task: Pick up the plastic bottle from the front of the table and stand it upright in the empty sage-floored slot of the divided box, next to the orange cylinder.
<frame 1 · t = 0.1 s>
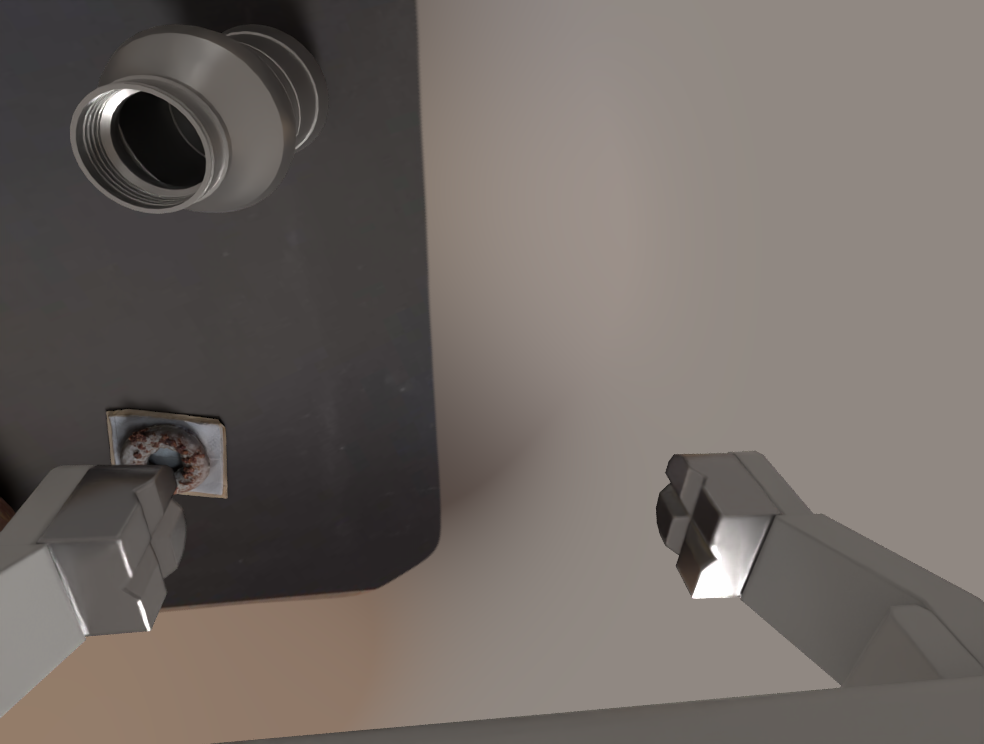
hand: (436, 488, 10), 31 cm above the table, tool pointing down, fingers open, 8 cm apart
donut: (170, 455, 45), on the table
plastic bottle: (274, 89, 34), on the table
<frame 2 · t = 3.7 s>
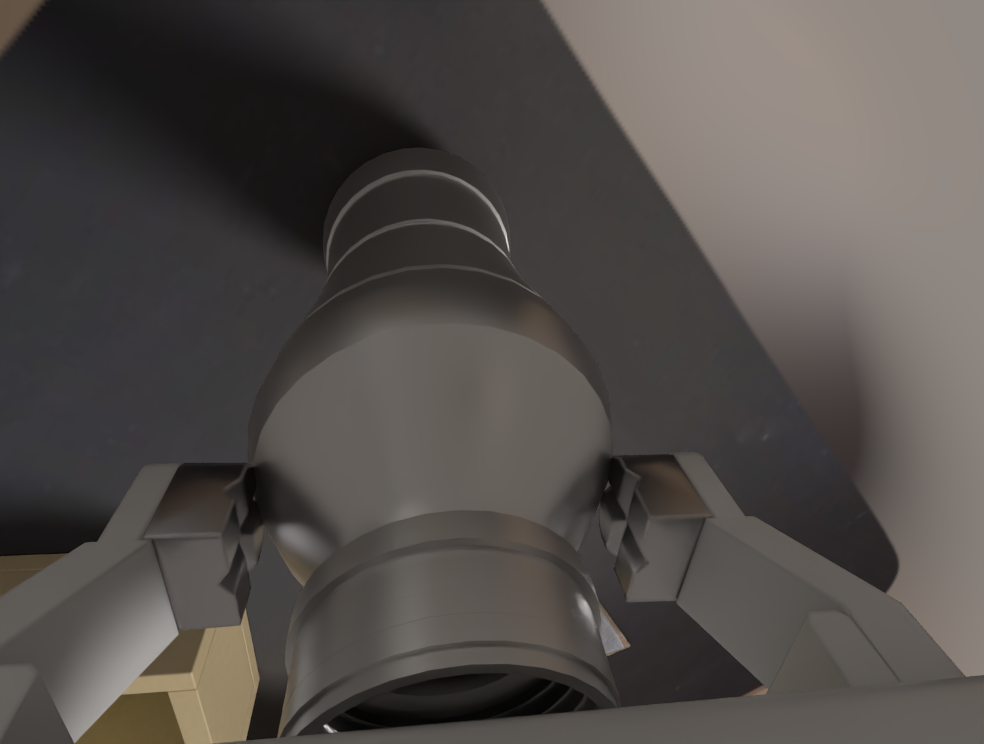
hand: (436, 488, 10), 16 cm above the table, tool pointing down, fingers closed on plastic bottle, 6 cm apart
donut: (550, 638, 38), on the table
divided box: (37, 630, 32), on the table
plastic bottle: (416, 221, 23), on the table, touching gripper
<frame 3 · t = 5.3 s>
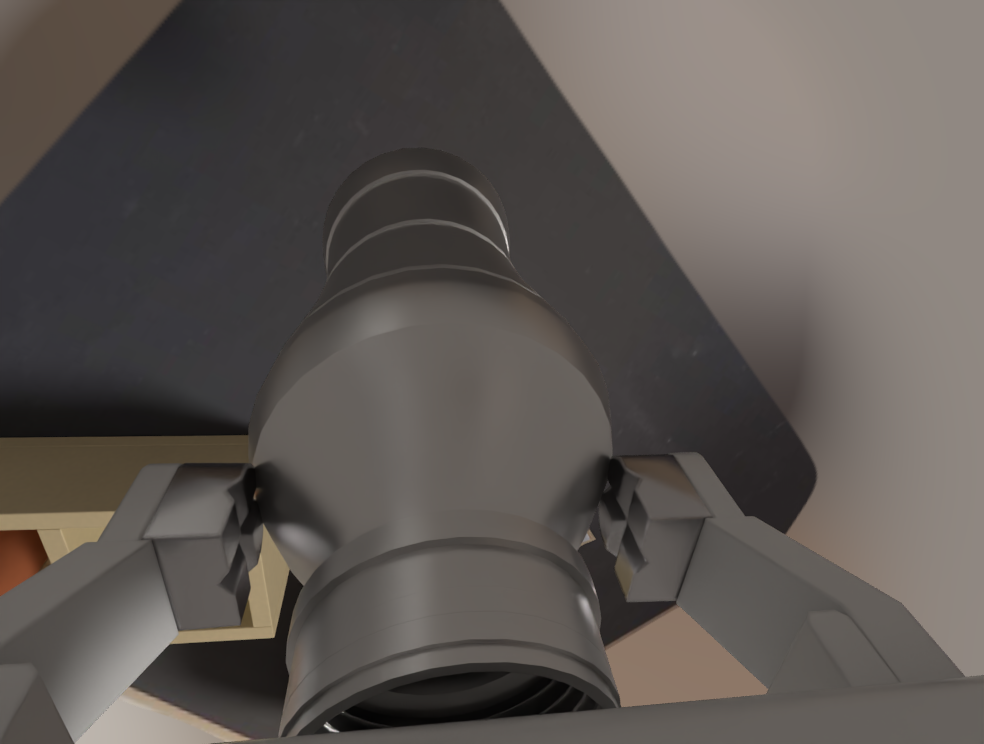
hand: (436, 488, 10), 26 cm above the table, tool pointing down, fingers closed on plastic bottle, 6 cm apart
orange cylinder: (31, 516, 39), point 1 cm above the table, touching divided box
divided box: (121, 504, 40), on the table
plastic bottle: (416, 221, 23), point 10 cm above the table, touching gripper
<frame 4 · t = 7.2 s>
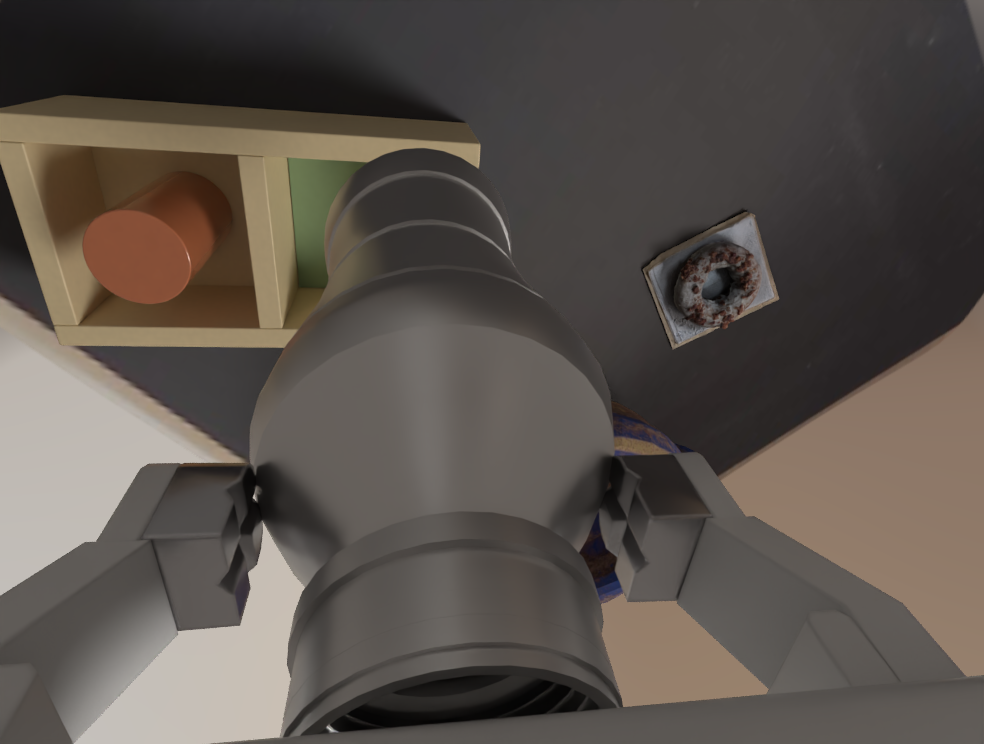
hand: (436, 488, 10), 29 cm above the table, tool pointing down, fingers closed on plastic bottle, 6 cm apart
donut: (709, 284, 42), on the table
orange cylinder: (190, 211, 34), point 1 cm above the table, touching divided box
divided box: (285, 211, 36), on the table
bowl: (548, 451, 48), on the table
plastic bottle: (417, 222, 23), point 14 cm above the table, touching gripper
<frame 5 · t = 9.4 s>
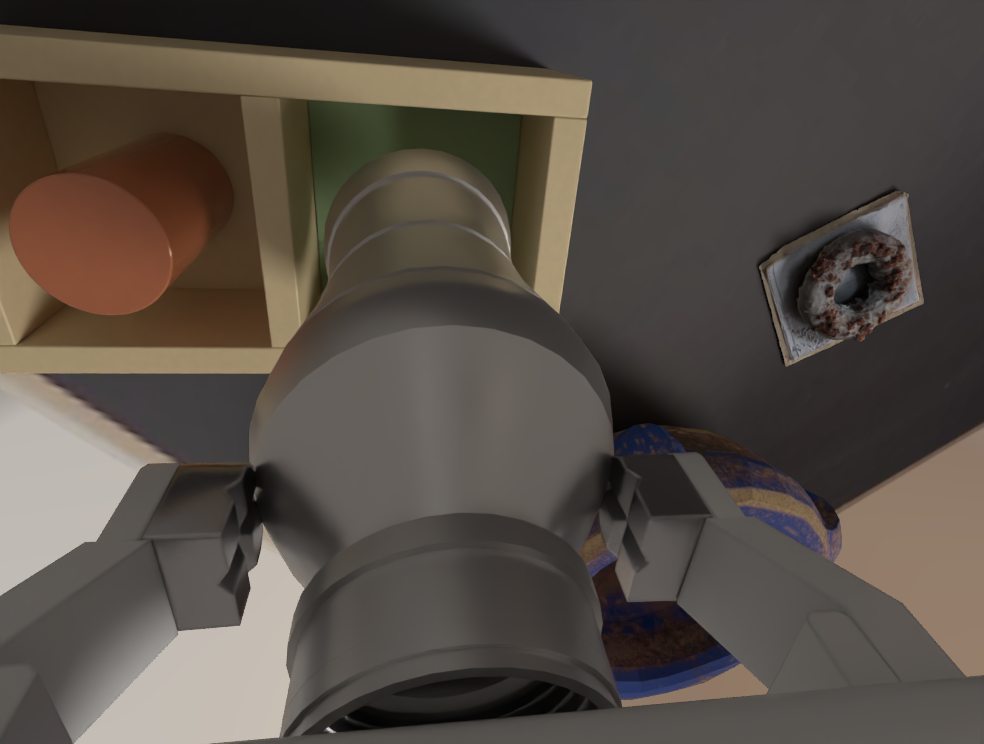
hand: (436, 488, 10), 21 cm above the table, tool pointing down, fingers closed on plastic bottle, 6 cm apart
donut: (839, 284, 33), on the table
orange cylinder: (177, 189, 25), point 1 cm above the table, touching divided box
divided box: (303, 189, 27), on the table
bowl: (622, 492, 39), on the table
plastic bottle: (417, 222, 23), point 5 cm above the table, touching gripper
when the fingers open (17 cm above the table, at t = 11.0 s): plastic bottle stays where it is, resting on divided box.
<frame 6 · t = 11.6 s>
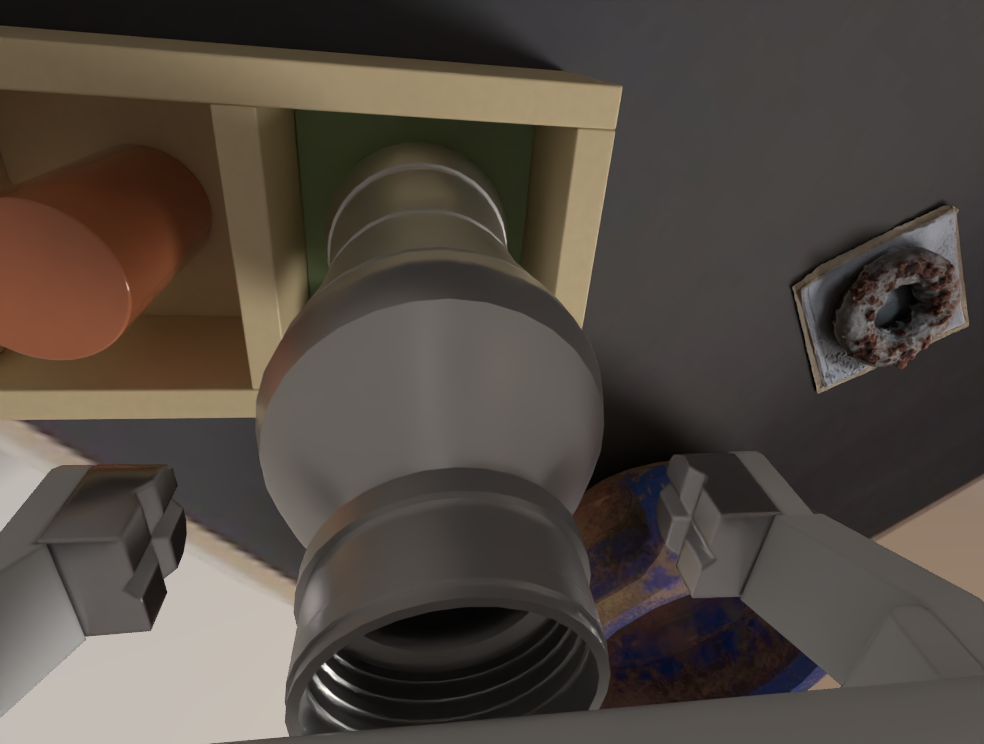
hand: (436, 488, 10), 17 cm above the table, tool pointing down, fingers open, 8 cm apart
donut: (878, 306, 30), on the table
orange cylinder: (148, 207, 22), point 1 cm above the table, touching divided box
divided box: (291, 206, 24), on the table
bowl: (637, 525, 36), on the table
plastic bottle: (416, 215, 24), point 1 cm above the table, touching divided box
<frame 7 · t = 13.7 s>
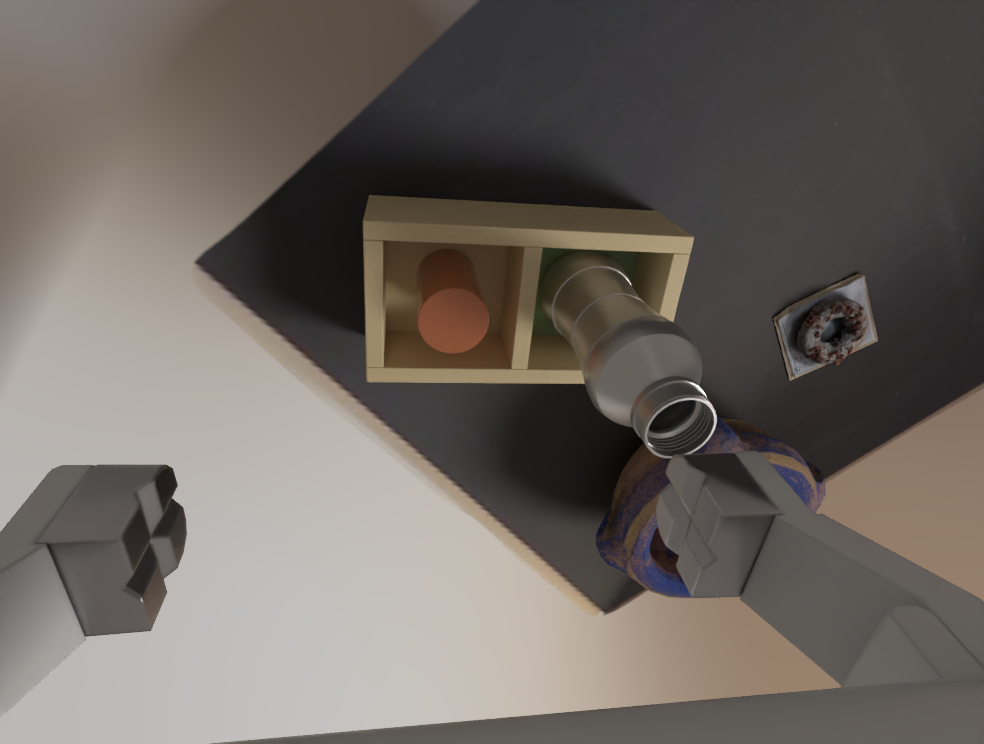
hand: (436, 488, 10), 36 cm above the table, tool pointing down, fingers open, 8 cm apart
donut: (823, 329, 52), on the table
orange cylinder: (446, 278, 44), point 1 cm above the table, touching divided box
divided box: (510, 276, 46), on the table
bowl: (679, 464, 58), on the table
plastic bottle: (576, 281, 46), point 1 cm above the table, touching divided box
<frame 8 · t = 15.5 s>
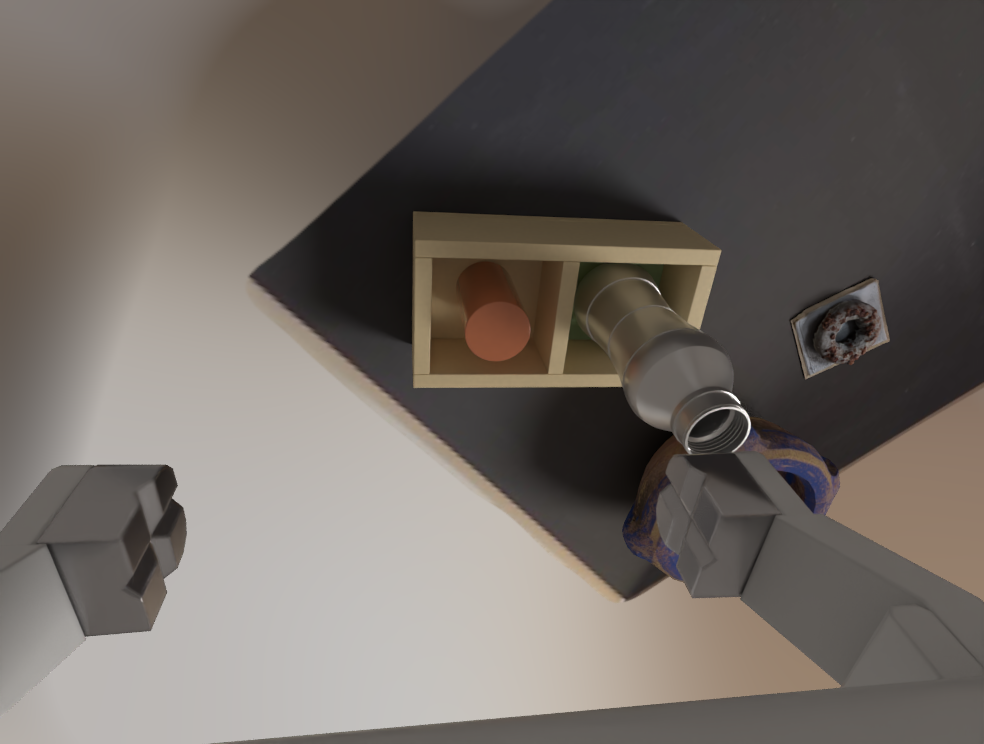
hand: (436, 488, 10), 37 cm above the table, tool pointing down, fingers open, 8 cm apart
donut: (838, 330, 55), on the table
orange cylinder: (484, 288, 47), point 1 cm above the table, touching divided box
divided box: (543, 285, 49), on the table
bowl: (699, 459, 61), on the table
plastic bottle: (605, 289, 48), point 1 cm above the table, touching divided box
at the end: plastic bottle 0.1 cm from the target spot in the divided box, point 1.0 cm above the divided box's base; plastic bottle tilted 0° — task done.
